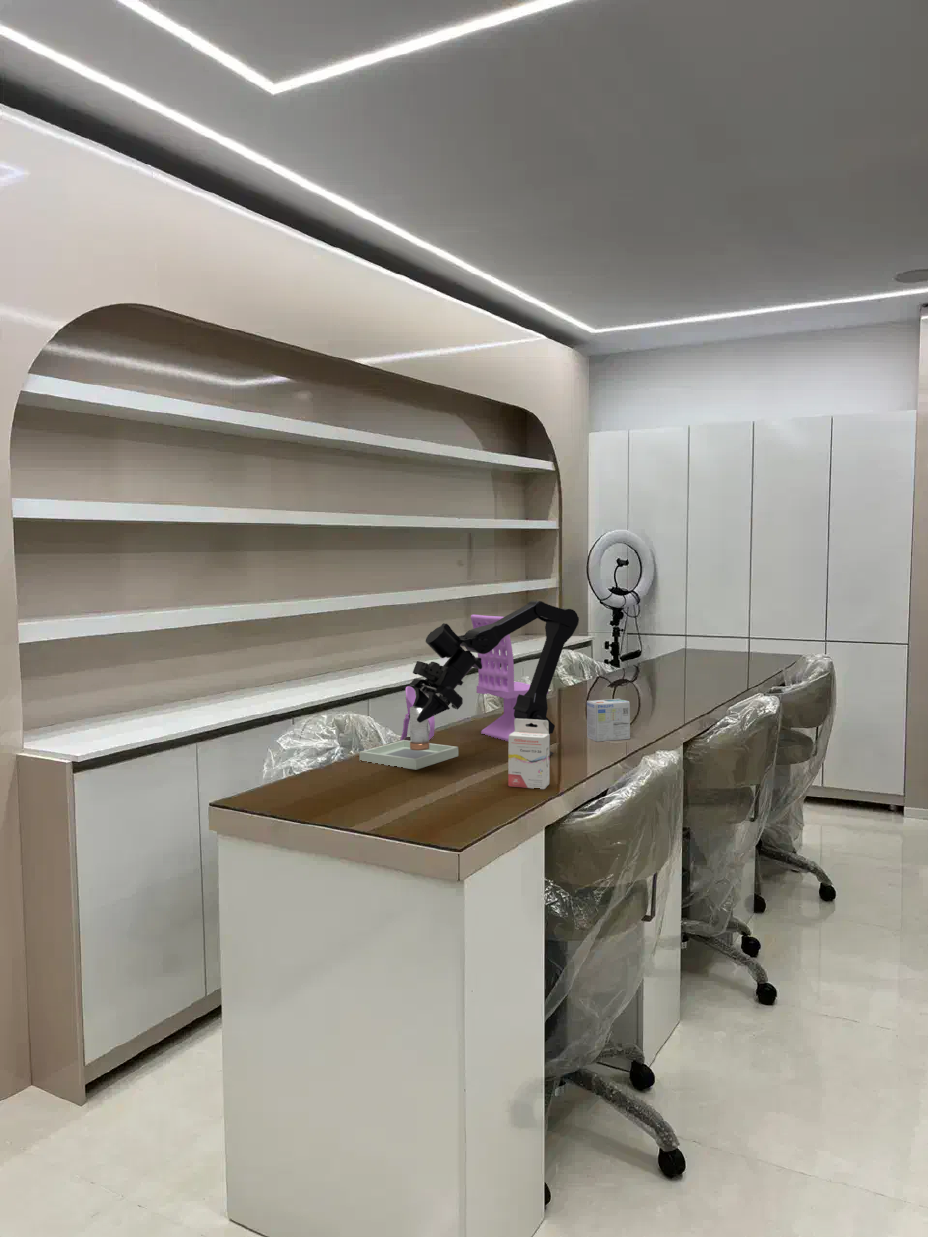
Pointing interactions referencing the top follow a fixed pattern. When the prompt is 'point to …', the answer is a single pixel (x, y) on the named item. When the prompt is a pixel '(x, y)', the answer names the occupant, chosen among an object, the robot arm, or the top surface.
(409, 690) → the toy chair
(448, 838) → the top surface
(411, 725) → the metal sleeve
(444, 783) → the top surface
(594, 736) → the light bulb box
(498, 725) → the earring display
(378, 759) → the sage tray
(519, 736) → the ink cartridge box
